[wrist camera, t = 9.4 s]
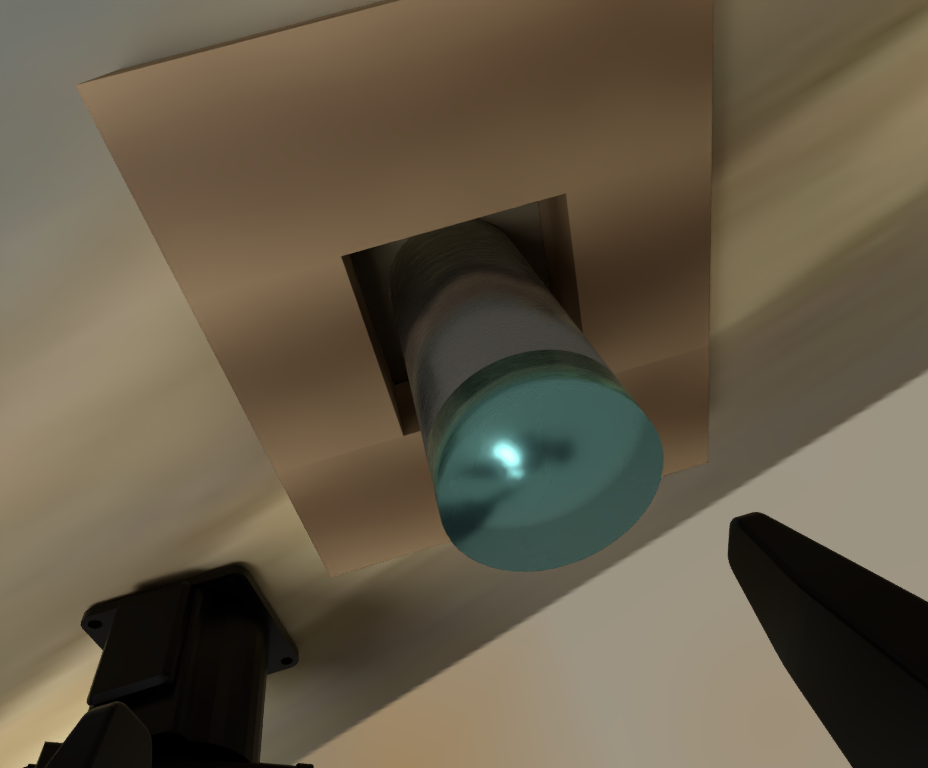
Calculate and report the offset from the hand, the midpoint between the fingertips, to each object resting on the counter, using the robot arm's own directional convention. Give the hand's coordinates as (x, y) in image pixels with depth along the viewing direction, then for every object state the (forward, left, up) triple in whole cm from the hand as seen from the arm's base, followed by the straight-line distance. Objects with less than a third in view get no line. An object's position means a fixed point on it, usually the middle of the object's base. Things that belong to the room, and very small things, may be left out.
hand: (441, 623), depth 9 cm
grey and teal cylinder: (-1, -3, -13) cm, 13 cm away
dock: (-1, -3, -13) cm, 13 cm away
